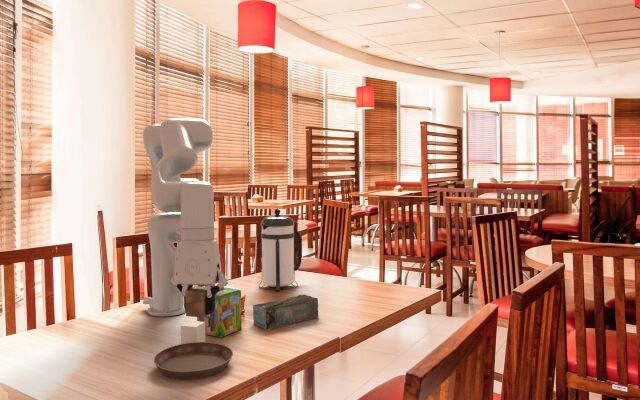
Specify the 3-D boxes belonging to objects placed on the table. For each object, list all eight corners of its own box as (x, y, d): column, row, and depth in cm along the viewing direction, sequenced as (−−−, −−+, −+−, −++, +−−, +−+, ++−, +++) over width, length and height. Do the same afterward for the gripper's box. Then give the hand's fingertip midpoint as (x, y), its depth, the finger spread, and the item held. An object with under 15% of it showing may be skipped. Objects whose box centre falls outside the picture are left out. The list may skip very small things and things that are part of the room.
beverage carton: (251, 324, 151) (251, 302, 151) (304, 312, 163) (304, 292, 162) (265, 330, 145) (265, 307, 145) (320, 318, 157) (319, 297, 156)
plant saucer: (245, 372, 116) (245, 358, 116) (166, 390, 106) (166, 376, 106) (216, 349, 131) (216, 337, 131) (145, 363, 121) (145, 351, 121)
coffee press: (299, 291, 189) (298, 210, 187) (256, 292, 189) (255, 210, 187) (301, 281, 206) (301, 206, 204) (262, 281, 206) (261, 207, 205)
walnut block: (186, 316, 119) (185, 290, 119) (195, 311, 123) (195, 286, 123) (203, 317, 118) (203, 291, 117) (212, 312, 122) (212, 287, 122)
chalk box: (220, 338, 138) (219, 284, 137) (195, 333, 143) (194, 280, 142) (243, 329, 146) (242, 277, 145) (219, 324, 151) (218, 274, 150)
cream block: (180, 348, 131) (180, 325, 130) (189, 343, 135) (189, 320, 134) (196, 350, 129) (196, 327, 129) (205, 344, 134) (204, 321, 133)
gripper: (156, 236, 118) (158, 314, 119) (223, 237, 114) (225, 319, 115) (174, 232, 125) (176, 306, 126) (238, 233, 121) (239, 310, 122)
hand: (199, 311), depth 121 cm, fingers closed on walnut block, 4 cm apart
